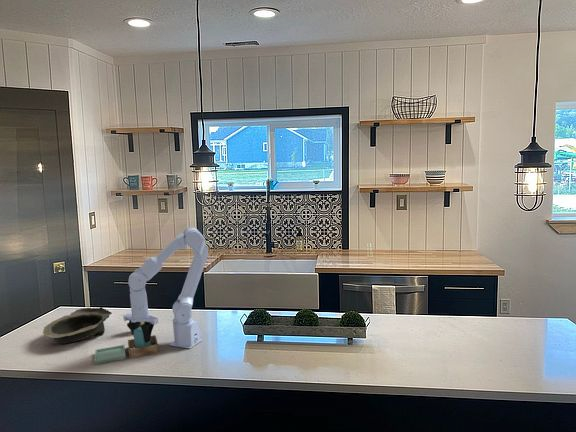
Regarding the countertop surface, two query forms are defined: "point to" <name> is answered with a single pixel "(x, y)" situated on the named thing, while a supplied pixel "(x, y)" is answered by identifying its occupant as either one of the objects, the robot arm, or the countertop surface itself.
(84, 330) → the stone bowl
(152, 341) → the sleeve
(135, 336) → the block
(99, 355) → the tray
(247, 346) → the countertop surface
